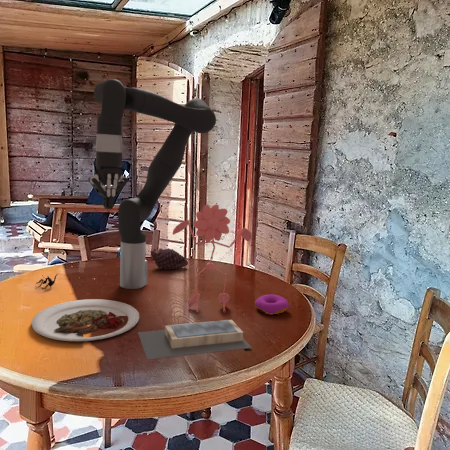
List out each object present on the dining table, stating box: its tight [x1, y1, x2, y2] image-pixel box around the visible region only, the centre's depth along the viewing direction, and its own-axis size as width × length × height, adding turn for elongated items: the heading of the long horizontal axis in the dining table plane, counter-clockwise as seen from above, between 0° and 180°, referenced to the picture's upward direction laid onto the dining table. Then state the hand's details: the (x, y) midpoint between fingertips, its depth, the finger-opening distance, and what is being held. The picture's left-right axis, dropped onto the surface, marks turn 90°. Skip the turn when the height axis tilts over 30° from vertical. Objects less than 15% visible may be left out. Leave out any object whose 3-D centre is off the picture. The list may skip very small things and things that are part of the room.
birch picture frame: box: [164, 319, 244, 348], centre depth 117 cm, size 9×3×20 cm
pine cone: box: [149, 248, 189, 271], centre depth 183 cm, size 18×10×10 cm
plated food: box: [31, 298, 140, 342], centre depth 123 cm, size 30×30×3 cm
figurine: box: [172, 204, 253, 313], centre depth 140 cm, size 15×26×35 cm, turn 104°
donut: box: [254, 293, 290, 313], centre depth 141 cm, size 11×10×5 cm
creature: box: [35, 273, 59, 290], centre depth 151 cm, size 8×5×8 cm
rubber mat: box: [137, 329, 252, 361], centre depth 115 cm, size 28×16×1 cm, turn 110°
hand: (108, 208), depth 126 cm, fingers closed
